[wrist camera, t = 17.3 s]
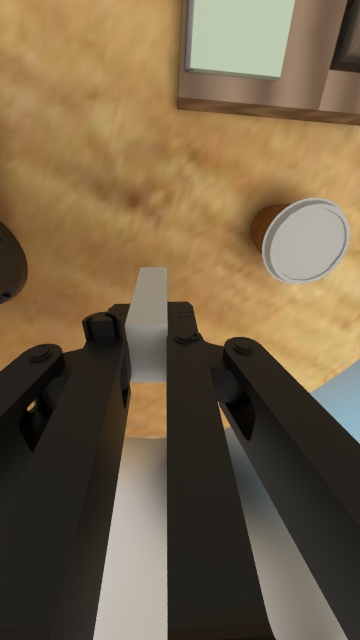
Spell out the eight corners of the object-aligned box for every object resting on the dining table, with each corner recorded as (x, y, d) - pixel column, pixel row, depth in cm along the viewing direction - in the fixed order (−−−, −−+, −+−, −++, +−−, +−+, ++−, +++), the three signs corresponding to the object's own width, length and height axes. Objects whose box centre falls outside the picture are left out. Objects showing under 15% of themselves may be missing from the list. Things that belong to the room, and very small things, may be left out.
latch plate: (184, 71, 25) (185, 67, 24) (191, -57, 21) (192, -67, 20) (276, 80, 26) (280, 77, 25) (299, -43, 22) (305, -52, 21)
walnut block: (177, 109, 30) (178, 97, 26) (184, -47, 25) (187, -96, 20) (365, 126, 32) (396, 117, 27) (414, -19, 26) (463, -59, 22)
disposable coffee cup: (247, 189, 35) (279, 193, 24) (312, 196, 36) (371, 203, 25) (234, 257, 40) (256, 284, 29) (292, 262, 40) (334, 290, 30)
